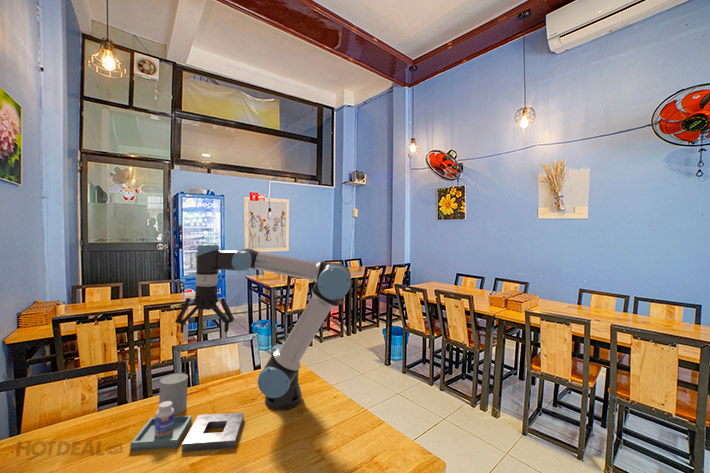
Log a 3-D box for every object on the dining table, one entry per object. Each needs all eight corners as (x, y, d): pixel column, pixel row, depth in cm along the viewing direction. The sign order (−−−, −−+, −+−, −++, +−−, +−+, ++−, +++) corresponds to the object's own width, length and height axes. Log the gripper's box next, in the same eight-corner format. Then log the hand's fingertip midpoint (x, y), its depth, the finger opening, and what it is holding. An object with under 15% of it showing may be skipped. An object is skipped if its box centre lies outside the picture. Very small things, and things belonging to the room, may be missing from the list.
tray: (191, 422, 113) (191, 415, 113) (176, 447, 100) (177, 439, 100) (150, 424, 111) (151, 417, 111) (130, 450, 98) (130, 442, 98)
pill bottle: (159, 439, 102) (161, 410, 102) (151, 433, 105) (152, 404, 105) (176, 431, 106) (177, 403, 106) (168, 425, 109) (169, 398, 109)
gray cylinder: (173, 418, 115) (175, 385, 115) (152, 414, 117) (153, 382, 117) (192, 405, 124) (193, 374, 124) (171, 401, 126) (173, 371, 126)
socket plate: (243, 419, 117) (243, 412, 117) (234, 448, 101) (234, 440, 101) (198, 421, 114) (198, 414, 114) (181, 451, 98) (181, 444, 98)
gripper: (166, 286, 112) (164, 345, 112) (239, 286, 116) (237, 343, 116) (174, 283, 119) (172, 338, 119) (242, 283, 123) (240, 336, 123)
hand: (204, 340), depth 118 cm, fingers open, 13 cm apart
